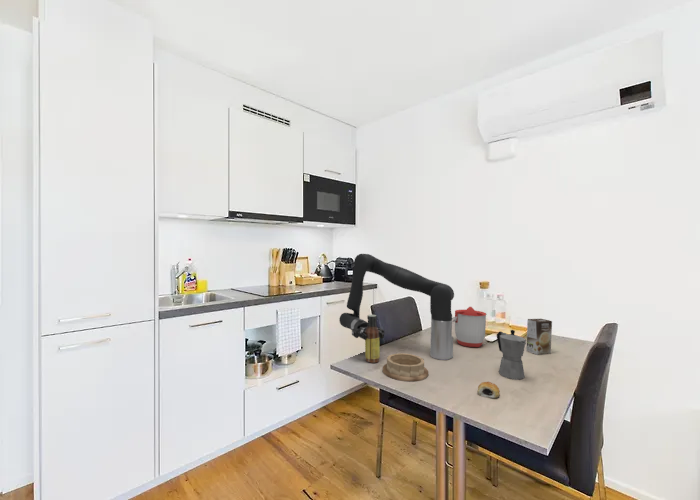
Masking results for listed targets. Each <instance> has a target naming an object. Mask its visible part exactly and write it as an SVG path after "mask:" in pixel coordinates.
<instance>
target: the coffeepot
mask: <svg viewBox="0 0 700 500" xmlns="http://www.w3.org/2000/svg"><path fill="white" fill-rule="evenodd" d="M509 331H510V334H509V333H508V334H507V333H506V332H503V331H498V332H497V333H496V340H497V345H498V349H499V351H500V352H501V353H502V356H501V359H500V363H499V368H498V373H499V375H501V377H503V378H506V379H509V380H515V381H517V380H519V381H520V380H523V379H525V378H526V375H525V371H524V365H523V364H524V362H523V360H522V357H523V356H524V351H525V349H526V345H527V338H526V339H525V338H524V337H523V336H520V335H517V334H515V333H516V330H514V329H510V330H509Z"/></svg>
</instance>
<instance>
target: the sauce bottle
mask: <svg viewBox="0 0 700 500" xmlns="http://www.w3.org/2000/svg"><path fill="white" fill-rule="evenodd" d="M366 317H367V322H368V326H367V328H366V330H365V334H366V335H367V339H366V340H364V341H365V342H364V349H365V352H364V353H365V354H364V355H365V356H364V357H365V361H366V362H367V363H370V364H372V363H373V364H375V363H379V362H380V357H381V356H380V355H381V354H380V337H379V330H378V325H377V318H378V317H377V315H376V314H368V315H367V316H366Z"/></svg>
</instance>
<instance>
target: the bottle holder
mask: <svg viewBox="0 0 700 500" xmlns="http://www.w3.org/2000/svg"><path fill="white" fill-rule="evenodd" d="M382 373H383V374H384V375H385V376H386V377H388V378H390V379H394V380H397V381H401V382H420V381H423V380H426V379H427V378H428V377H429V369H428V368H427V367H425V360H424V358H422V357H420V356H418V355H417V354H412V353H411V354H410V353H402V352H401V353H392V354H389V355H388V356H387V358H386V363H385V364H384V365H383V366H382Z"/></svg>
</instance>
